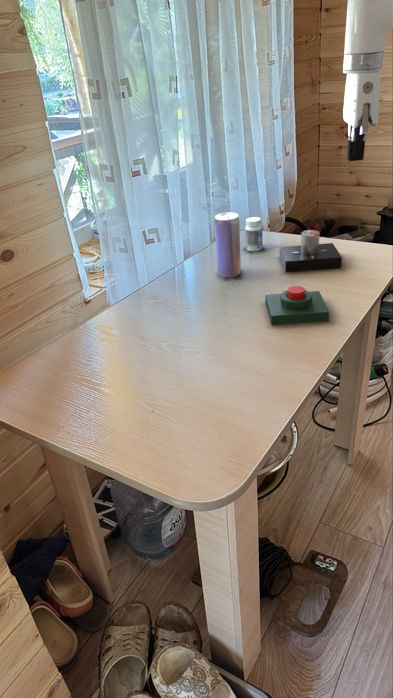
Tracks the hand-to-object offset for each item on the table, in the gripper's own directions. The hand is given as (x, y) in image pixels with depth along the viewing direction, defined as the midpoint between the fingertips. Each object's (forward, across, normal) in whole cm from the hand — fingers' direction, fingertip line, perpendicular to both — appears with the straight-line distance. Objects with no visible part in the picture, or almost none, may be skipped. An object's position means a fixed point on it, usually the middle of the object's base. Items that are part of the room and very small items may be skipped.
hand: (355, 159), depth 111 cm
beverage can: (+27, +6, +28) cm, 40 cm away
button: (+23, -17, +15) cm, 33 cm away
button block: (+27, -17, +15) cm, 35 cm away
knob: (+24, +9, +7) cm, 27 cm away
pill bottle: (+27, +22, +20) cm, 40 cm away
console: (+27, +9, +7) cm, 29 cm away
